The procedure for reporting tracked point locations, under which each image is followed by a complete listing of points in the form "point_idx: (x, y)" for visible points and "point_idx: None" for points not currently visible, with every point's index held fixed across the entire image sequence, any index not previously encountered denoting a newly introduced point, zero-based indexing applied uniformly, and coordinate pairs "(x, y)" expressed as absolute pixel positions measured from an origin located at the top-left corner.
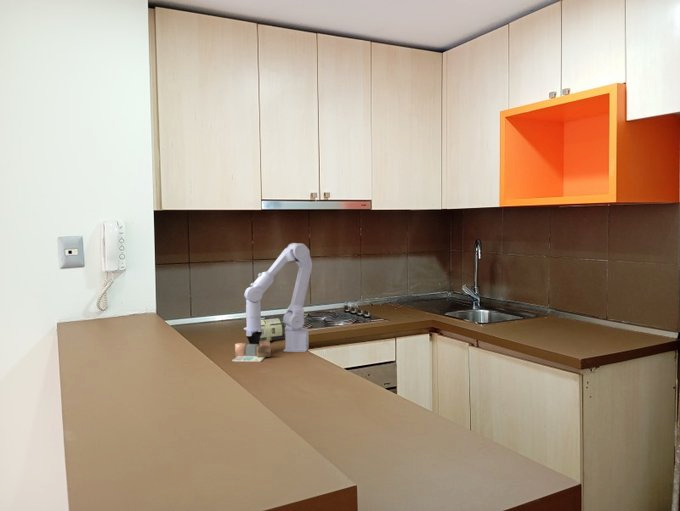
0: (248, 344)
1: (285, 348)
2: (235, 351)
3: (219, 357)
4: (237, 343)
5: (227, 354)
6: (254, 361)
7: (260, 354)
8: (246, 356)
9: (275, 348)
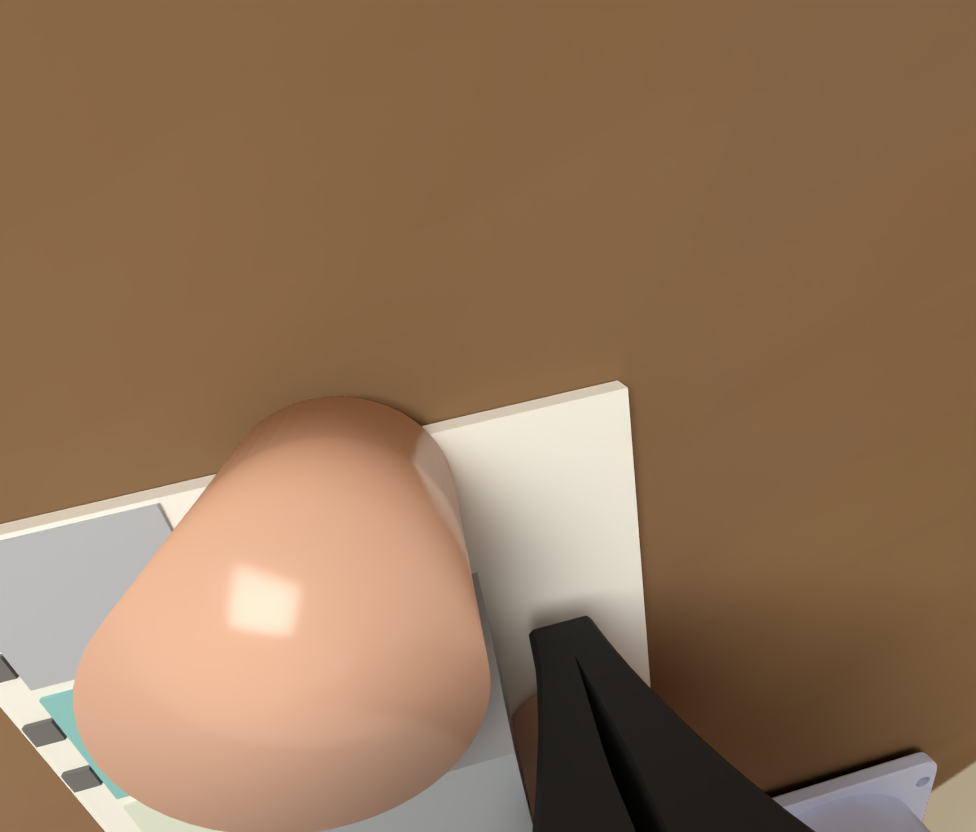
0: (466, 777)
1: (835, 797)
2: (207, 486)
3: (55, 26)
4: (332, 582)
5: (435, 90)
6: (123, 822)
7: None
8: None
9: (914, 654)
